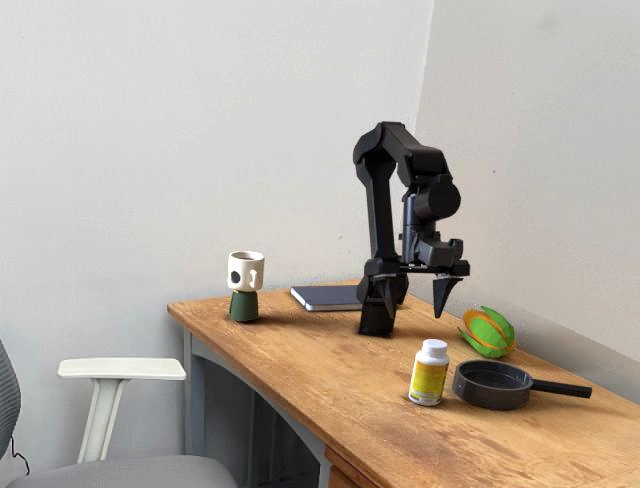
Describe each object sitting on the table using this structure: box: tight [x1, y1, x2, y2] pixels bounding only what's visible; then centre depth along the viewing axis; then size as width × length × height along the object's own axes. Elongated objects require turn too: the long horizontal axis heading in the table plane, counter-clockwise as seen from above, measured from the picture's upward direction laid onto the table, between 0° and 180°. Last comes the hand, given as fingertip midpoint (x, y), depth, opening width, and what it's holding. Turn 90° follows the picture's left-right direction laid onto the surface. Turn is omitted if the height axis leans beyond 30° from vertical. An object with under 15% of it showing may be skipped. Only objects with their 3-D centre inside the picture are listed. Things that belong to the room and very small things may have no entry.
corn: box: [456, 305, 517, 359], centre depth 155 cm, size 7×8×20 cm
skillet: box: [451, 359, 534, 411], centre depth 136 cm, size 13×13×4 cm
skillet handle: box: [531, 377, 593, 400], centre depth 134 cm, size 10×2×2 cm, turn 77°
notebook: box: [289, 284, 362, 312], centre depth 176 cm, size 13×2×21 cm
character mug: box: [227, 250, 266, 322], centre depth 158 cm, size 11×7×13 cm, turn 22°
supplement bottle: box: [408, 338, 450, 407], centre depth 131 cm, size 6×6×10 cm
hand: (415, 318), depth 140 cm, fingers open, 9 cm apart
